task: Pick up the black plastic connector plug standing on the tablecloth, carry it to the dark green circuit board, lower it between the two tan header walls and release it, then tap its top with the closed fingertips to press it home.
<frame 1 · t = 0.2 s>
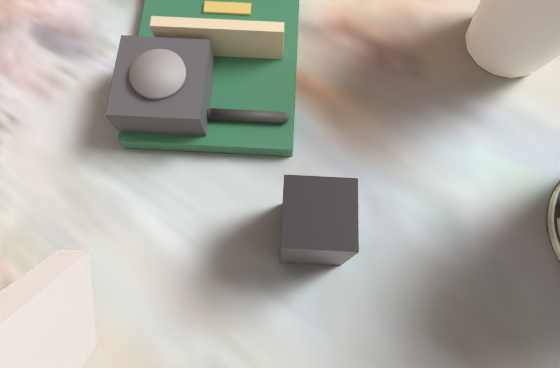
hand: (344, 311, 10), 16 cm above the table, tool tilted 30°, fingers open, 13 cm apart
board: (219, 51, 31), on the table
plug: (310, 233, 27), on the table
foam cup: (503, 45, 32), on the table
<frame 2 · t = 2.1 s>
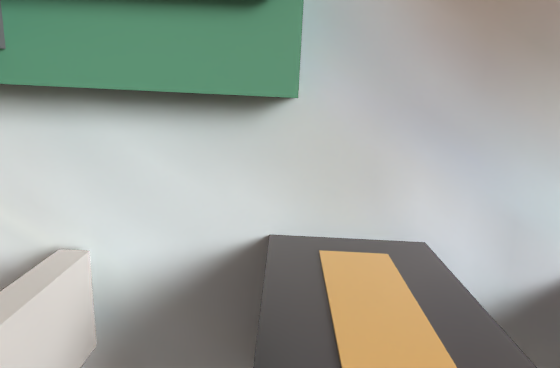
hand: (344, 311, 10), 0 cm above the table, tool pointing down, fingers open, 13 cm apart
plug: (340, 308, 11), on the table
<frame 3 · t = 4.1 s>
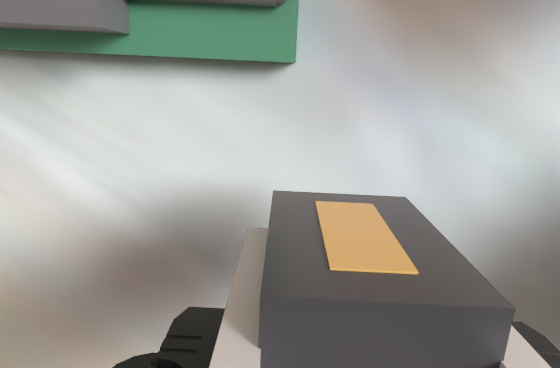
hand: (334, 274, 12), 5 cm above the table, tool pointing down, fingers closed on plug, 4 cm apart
plug: (333, 254, 13), point 5 cm above the table, touching gripper
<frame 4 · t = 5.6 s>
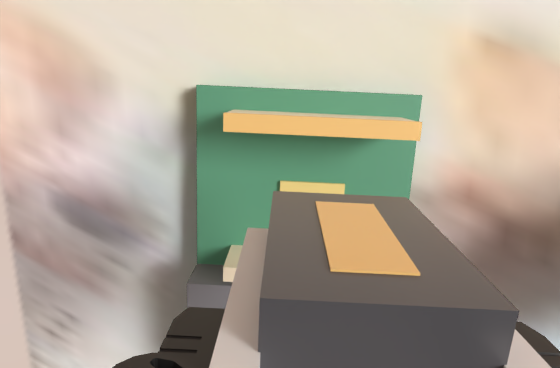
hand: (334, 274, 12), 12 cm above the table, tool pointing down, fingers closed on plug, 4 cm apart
board: (299, 232, 24), on the table
plug: (334, 255, 12), point 11 cm above the table, touching gripper
when the fingers open (2 cm above the table, at t = 7.1 s): plug stays where it is, resting on board.
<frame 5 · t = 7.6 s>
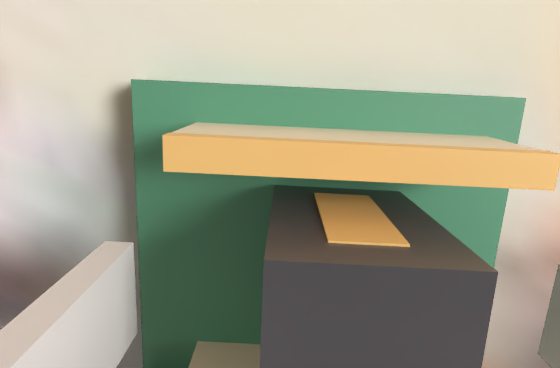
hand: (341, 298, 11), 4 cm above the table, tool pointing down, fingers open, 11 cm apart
board: (308, 315, 15), on the table
plug: (332, 247, 13), point 1 cm above the table, touching board
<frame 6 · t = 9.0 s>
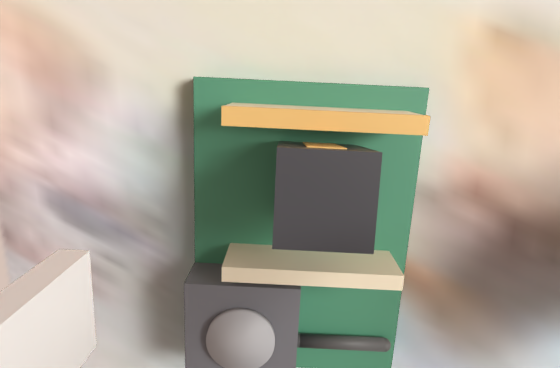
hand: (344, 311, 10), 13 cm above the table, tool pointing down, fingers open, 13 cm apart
board: (300, 230, 23), on the table
plug: (314, 180, 21), point 1 cm above the table, tilted 6°, touching board
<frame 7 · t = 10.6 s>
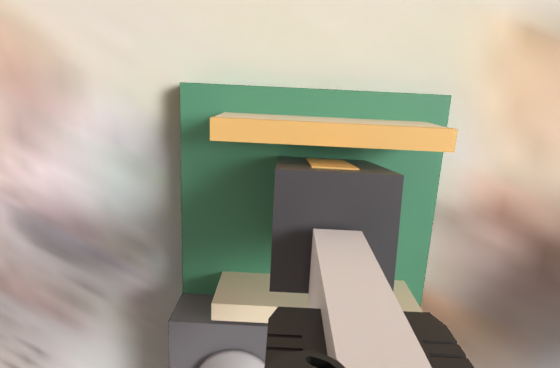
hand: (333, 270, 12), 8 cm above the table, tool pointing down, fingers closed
board: (302, 256, 21), on the table
plug: (319, 200, 19), point 1 cm above the table, tilted 6°, touching board, gripper
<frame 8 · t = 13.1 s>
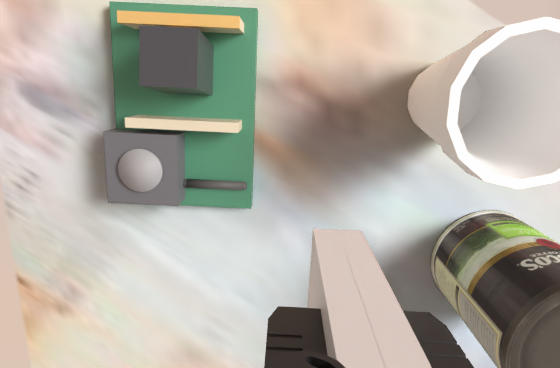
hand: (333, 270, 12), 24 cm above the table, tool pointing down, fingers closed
board: (187, 110, 35), on the table
plug: (189, 69, 33), point 1 cm above the table, tilted 6°, touching board
foam cup: (442, 99, 35), on the table
coffee can: (481, 259, 39), on the table
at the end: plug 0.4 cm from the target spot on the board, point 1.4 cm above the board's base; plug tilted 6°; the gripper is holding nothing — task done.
